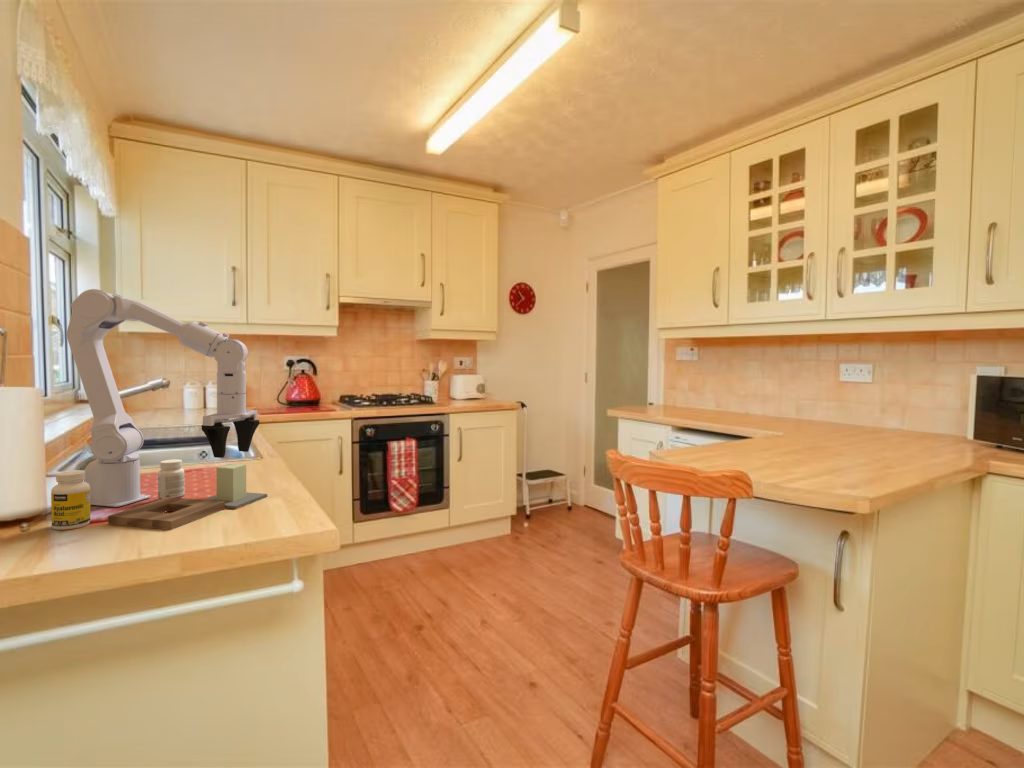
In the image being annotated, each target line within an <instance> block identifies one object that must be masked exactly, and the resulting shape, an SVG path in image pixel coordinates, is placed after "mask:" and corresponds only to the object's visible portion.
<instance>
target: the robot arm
mask: <svg viewBox="0 0 1024 768" xmlns="http://www.w3.org/2000/svg"><path fill="white" fill-rule="evenodd" d="M70 306H71V312H72V313H71V315H70V320H69V323H68V326H67V329H66V339H67V342H68V345H69V348H70V351H71V354H72V357H73V360H74V363H75V365H76V366H75V367H76V368H77V372H78V375H79V377H80V381H81V383H82V387H83V390H84V393H85V395H86V398H87V402H88V405H89V407H90V411H91V414H92V416H93V422H92V425H91V426H90V432H91V436H92V438H91V439H92V440H91V443H90V450H91V452H92V454H93V455H94V457H95V458H96V459H94V460H92V461H90V462H89V463H88V464H87V465H86V467H85V468H84V471H85V479H84V480H83V481H84V482H86V483H88V484H89V485H90V506H101V507H115V508H117V507H119V508H120V507H122V506H126V505H129V504H134V503H137V502H139V501H142V500H146V499H149V498H151V496H152V495H151V494H141V466H140V465H141V461H140V460H141V459H140V454H139V452H138V451H140V450H141V448H142V447H143V445H144V441H145V439H144V438H145V437H144V435H143V432H142V431H141V430H140V429H139V428H138V427H137V426H136V425H135V423H134V419H133V418H132V417H131V416H130V415H129V414H128V413H127V412H126V410H125V408H124V405H123V402H122V398H121V396H120V392H119V390H118V387H117V384H116V380H115V378H114V374H113V371H112V368H111V365H110V361H109V360H108V356H107V353H106V349H105V347H104V344H103V339H104V338H105V337H106V336H107V335H108V334H109V332H110V331H111V330H112V329H114V328H115V327H117V326H118V325H120V324H123V323H124V322H125V321H130V322H131V321H140V322H143V323H144V324H147V325H149V326H152V327H155V328H157V329H159V330H162V331H164V332H166V333H169V334H172V335H174V336H176V337H177V339H178V340H179V343H180V345H182V346H184V347H186V348H188V349H191V350H193V351H195V352H197V353H200V354H201V355H204V356H206V357H209V358H214V359H215V361H216V362H217V371H216V413H213V414H209V415H204V416H203V415H202V425H201V431H202V432H203V433H204V435H205V437H206V438H207V441H208V442H209V445H210V448H211V451H212V455H213V457H214V458H219V459H220V458H221V459H222V458H225V456H226V449H227V439H228V435H229V431H230V429H231V426H229V425H224V424H226V423H227V424H228V423H233V425H234V428H235V433H236V439H237V448H238V452H242V453H243V452H245V453H246V452H250V449H251V448H250V447H251V445H252V444H251V443H252V440H253V437H254V435H255V432H256V431H257V428H258V427H259V425H260V420H259V419H258V409H257V410H256V409H249V410H247V371H246V360H247V358H248V356H249V350H248V348H247V345H246V344H245V343H244V342H242V341H240V340H239V339H238V338H232V339H231V338H229V337H230V334H229V333H226V332H223V333H221V332H219V331H216V330H214V329H212V328H210V327H209V326H208V323H206V322H203V321H199V322H197V321H190V322H186V323H185V322H183V321H180V320H179V319H176V318H175V317H173V316H171V315H168V314H166V313H164V312H162V311H161V310H158V309H156V308H154V307H152V306H150V305H148V304H146V303H145V302H141V301H138V300H134V299H131V298H128V297H124V296H122V295H120V294H117V293H116V294H115V293H110V292H106V291H103V290H100V289H98V288H97V289H96V288H92V289H87V290H84V291H82V292H81V293H80V294H79V295H78V296H76V298H75V299H74V300H73V301H72V302H71V303H70Z"/></svg>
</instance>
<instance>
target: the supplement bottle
mask: <svg viewBox="0 0 1024 768" xmlns="http://www.w3.org/2000/svg"><path fill="white" fill-rule="evenodd" d="M84 479H85V470H78V469H77V470H76V469H74V470H67V471H66V470H65V471H60V472H57V473H56V474H55V481H56V482H57V484H55V485H54V486H53V487H52V488H51V490H50V491H51V492H50V495H51V496H50V499H51V500H50V503H51V507H50V508H51V519H50V520H51V528H52V529H53V530H56V531H57V530H59V531H65V530H73V529H79V528H83V527H85V526H88V525H89V524H90V523H91V505H90V485H89V484H88V483H86V482H84Z"/></svg>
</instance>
